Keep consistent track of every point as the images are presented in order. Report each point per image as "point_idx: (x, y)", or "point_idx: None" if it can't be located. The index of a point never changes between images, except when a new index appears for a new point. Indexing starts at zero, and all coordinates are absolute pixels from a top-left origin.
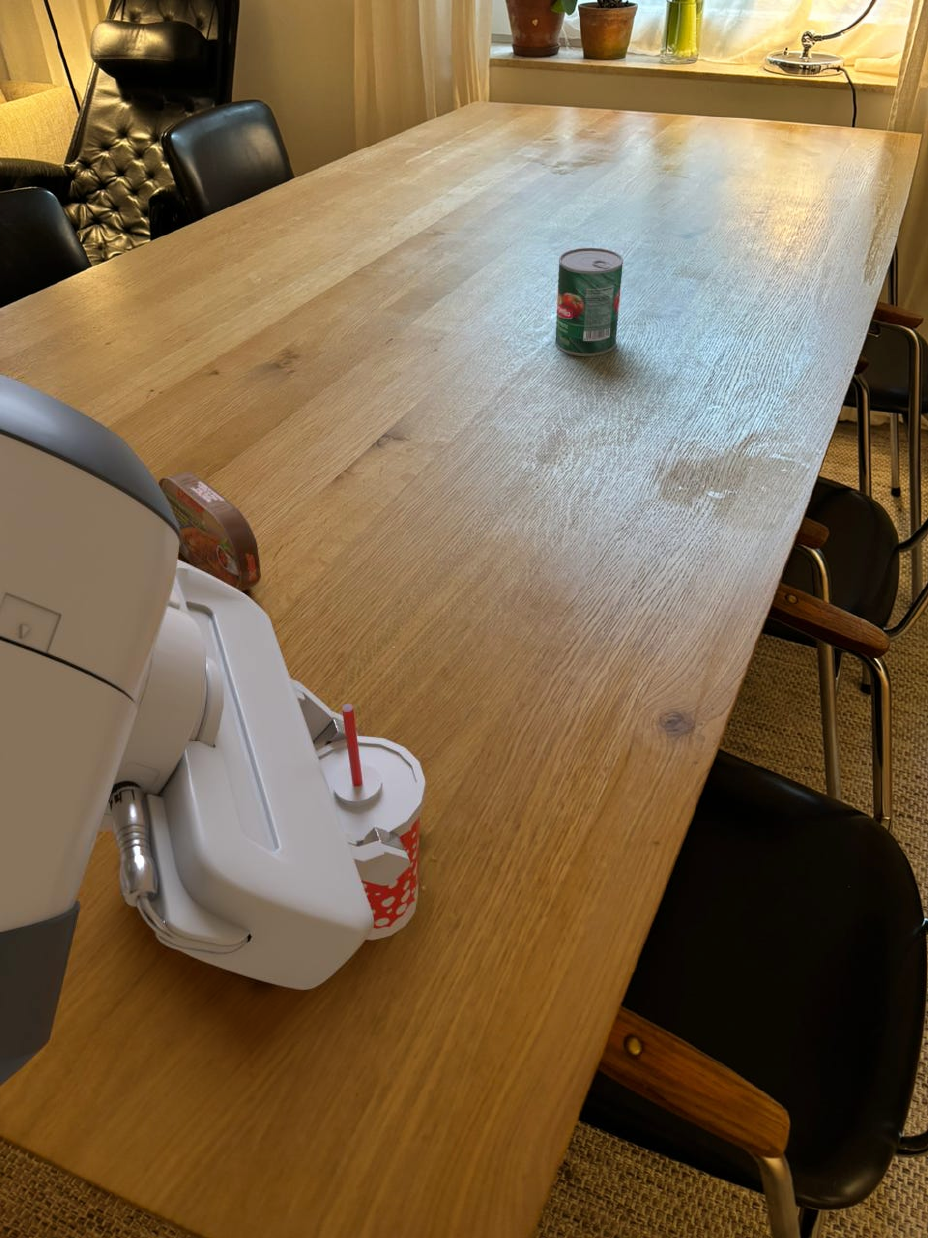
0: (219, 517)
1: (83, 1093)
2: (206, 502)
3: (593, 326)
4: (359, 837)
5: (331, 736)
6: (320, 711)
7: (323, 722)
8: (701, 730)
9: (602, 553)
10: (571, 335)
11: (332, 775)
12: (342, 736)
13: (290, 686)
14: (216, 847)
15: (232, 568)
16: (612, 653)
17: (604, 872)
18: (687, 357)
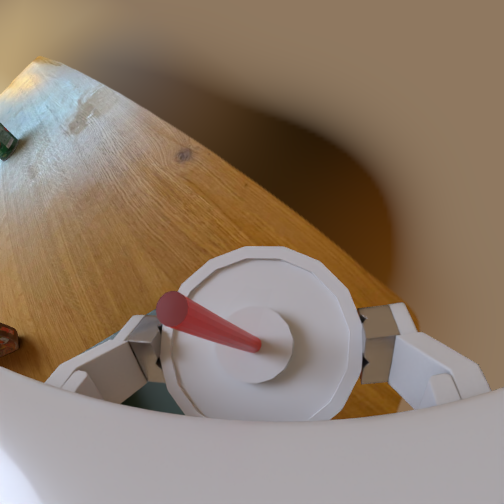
0: None
1: None
2: None
3: (6, 141)
4: (356, 365)
5: (152, 354)
6: (110, 355)
7: (126, 356)
8: (193, 146)
9: (83, 162)
10: (4, 151)
11: (218, 375)
12: (157, 339)
13: (58, 397)
14: None
15: (5, 340)
16: (131, 171)
17: (252, 215)
18: (38, 116)
